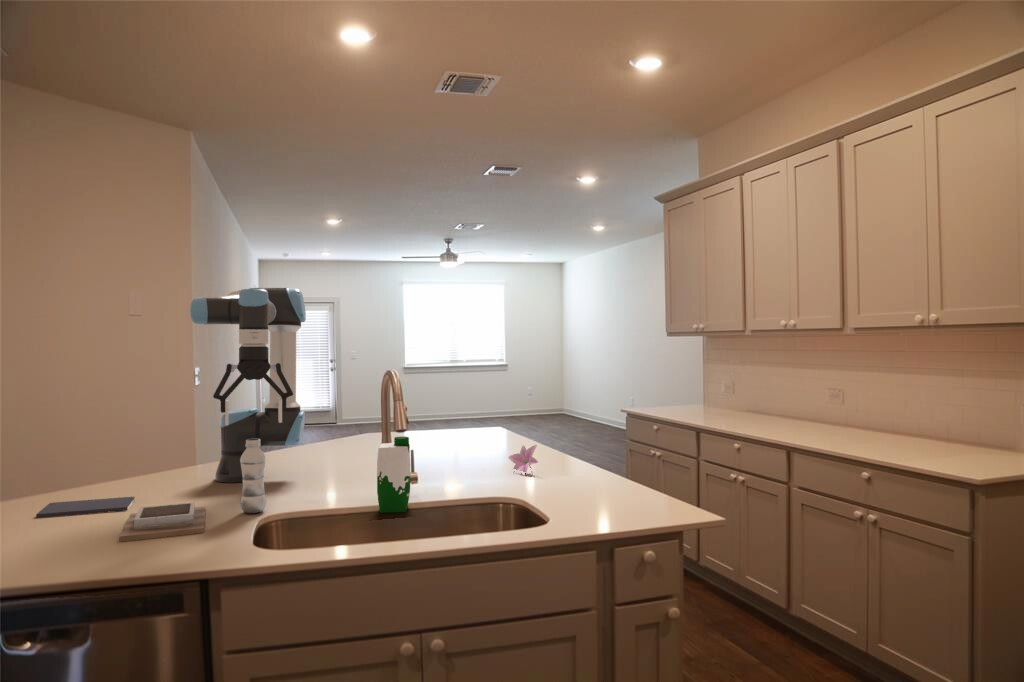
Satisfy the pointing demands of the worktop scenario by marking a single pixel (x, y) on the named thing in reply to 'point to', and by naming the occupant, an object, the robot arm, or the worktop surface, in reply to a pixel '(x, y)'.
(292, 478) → the worktop surface
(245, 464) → the plastic bottle
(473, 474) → the worktop surface
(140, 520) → the bottle stand
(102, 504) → the notebook
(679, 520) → the worktop surface
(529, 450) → the lily
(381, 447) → the milk carton
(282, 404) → the robot arm
